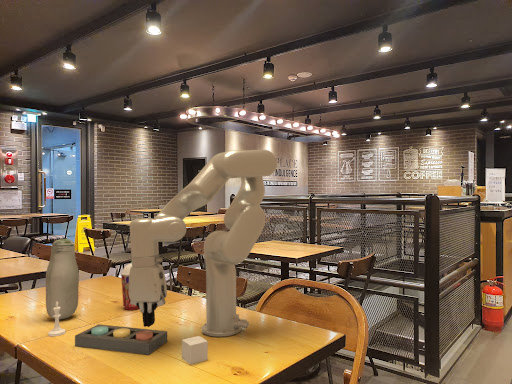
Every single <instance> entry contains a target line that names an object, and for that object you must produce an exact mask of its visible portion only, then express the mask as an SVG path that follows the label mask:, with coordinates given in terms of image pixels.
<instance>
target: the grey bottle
mask: <svg viewBox="0 0 512 384" xmlns="http://www.w3.org/2000/svg"><path fill="white" fill-rule="evenodd" d="M75 248H76V246H75V243H74V242H73V241H72V240H71V239H69V238H63V239H62V238H60V239H57V240H55V241H54V242H53V243H52V245H51V247H50V251H51V252H50V253H51V254H50V258H49V262H48V265H47V267H46V272H45V308H46V313H47V315H48V316H49V317H50V318H51V319H53V320H55V317H53V315H55V312H54V309H53V308H55V307H56V301H58V307H60V311H59V314H61V316H59V321H60V320H65V319H68V318H71V316H73V315H74V314H75V312H76V311H77V309H78V306H79V283H80V273H79V272H80V271H79V267H78V264H77V259H76V253H75V251H76V250H75Z"/></svg>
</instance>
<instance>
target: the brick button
mask: <svg viewBox="0 0 512 384" xmlns="http://www.w3.org/2000/svg"><path fill="white" fill-rule="evenodd" d="M151 338H153V332H152V331H140V332H138V333H136V339H137V340H146V341H148V340H150V339H151Z"/></svg>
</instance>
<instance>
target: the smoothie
mask: <svg viewBox="0 0 512 384" xmlns="http://www.w3.org/2000/svg"><path fill="white" fill-rule="evenodd" d="M131 267H132V262H131V263H128V264H127V265H125V266H124V267H123V269H122V271H121V273H120V274H121V277H120V278H121V293H122V304H123V306H122V307H124V309H125V310H126V311H136V310H138V309H139V308H138V307H137V306H135V305H132V304H131V300H130V298H129V274H130V268H131ZM139 310H140V309H139Z"/></svg>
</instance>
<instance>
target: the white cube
mask: <svg viewBox="0 0 512 384" xmlns="http://www.w3.org/2000/svg"><path fill="white" fill-rule="evenodd" d="M208 344H209V343H208V340H206V339H205V338H203V337H202V336H200V335H197V336H192V337H188V338H184V339H181V359H182V360H183V361H184V362H186V364H188V365H190V366H192V365H194V364H198V363H202V362H205V361H208V359H209V356H208V355H209V353H208V349H209V347H208V346H209V345H208Z"/></svg>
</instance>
